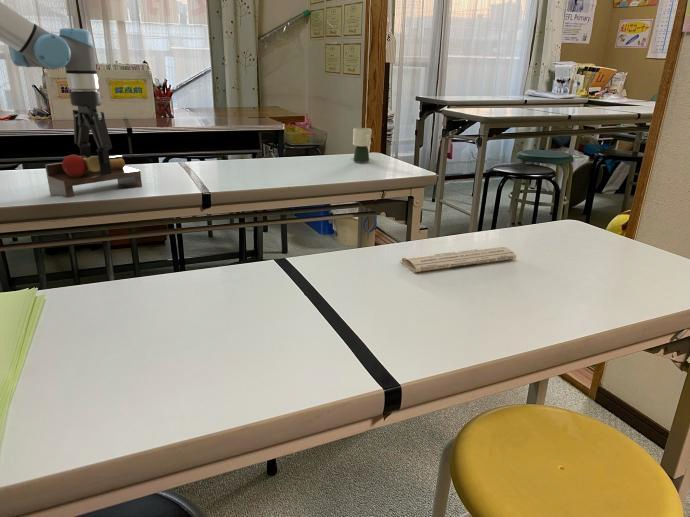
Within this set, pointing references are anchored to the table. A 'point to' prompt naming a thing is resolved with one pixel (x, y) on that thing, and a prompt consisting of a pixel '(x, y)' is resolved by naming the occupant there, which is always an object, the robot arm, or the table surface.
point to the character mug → (361, 143)
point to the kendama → (86, 164)
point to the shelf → (88, 178)
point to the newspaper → (458, 258)
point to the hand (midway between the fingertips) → (97, 171)
